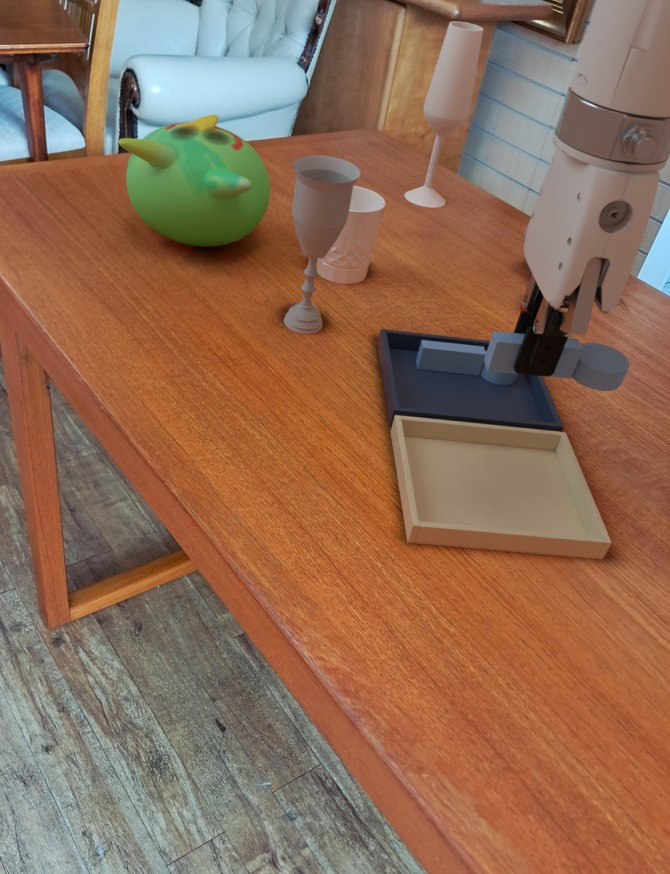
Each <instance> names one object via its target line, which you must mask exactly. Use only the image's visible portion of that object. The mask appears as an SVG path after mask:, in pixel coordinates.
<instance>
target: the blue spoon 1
mask: <svg viewBox="0 0 670 874" xmlns="http://www.w3.org/2000/svg"><path fill="white" fill-rule="evenodd" d="M486 353H487V351H486V352H485V349H484V347H482V346H473V345H464V344H455V343H446V342H436V341H427V340H421V344H420V347H419V351H418V355H417V358H416V365H417V369H420V370H430V371H439V372H449V373H458V374H467V375H477V376H479V375H480V376H481V377H482V378H484V379H485V380H487V381H489V382H491V383H494V384H498V385H510V384H513V383H514V382H515V381H516V380H517V377H518V375H519V374H513V373H502V372H491V371H487V368H486V365H485V362H484V359H485V356H486Z"/></svg>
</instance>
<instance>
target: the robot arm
mask: <svg viewBox="0 0 670 874" xmlns="http://www.w3.org/2000/svg"><path fill="white" fill-rule="evenodd" d="M551 141H552V144H554V147H555V148H556V150H555V152H554V154H553V157H552V159H551V162H550V164H549V168H547V169H548V170H547V171H546V174H545V177H544V180H543V183H542V184H541V188H540V190H539V193H538V196H537V198H536V201H535V205H534V208H533V210H532V213H531V216H530V220H529V223H528V224H529V226H528V230H527V233H526V237H525V242H524V245H523V254H524V259H525V261H526V263H527V265H528V268H529V270H530V273H529V281H528V283H527V286H526V290H525V293H524V296H523V299H522V302H523V309H525V310H528V311H521V310H520V313H519V315H518V319H517V322H516V324H515V327H514V330H513V333H519V334H525V336H524V339H523V341H522V344H521V347H520V350H519V353H518V356H517V358H516V361H515V364H514V370H515V372H516V373H517V374H525V375H536V376H543V377H547V378H549V377H548V376H552V375H553V374H554V372H555V369H556V367H557V364H558V362H559V359H560V357H561V354H562V352H563V349H564V347H565V344H566V342H567V339H568V338H572V336H573V335H578V336H585V335H586V333H587V331H588V328H589V324H590V319H591V315H592V311H593V307H594V303H595V305H596V307H597V308H598V310H599V311H600V312H601V313H603V314H608V315H609V314H611V313H613V312H614V311H615V309H616V308H617V306H618V303H619V302H620V299H621V297H622V295H623V293H624V290H625V287H626V285H627V283H628V280H629V278H630V274H631V272H632V270H633V267H634V263H635V262H636V258H637V256H638V253H639V250H640V248H641V246H642V245H641V244H642V242H643V239H644V235H645V233H646V230H647V227H648V224H649V221H650V217H651V214H652V210H653V207H654V203H655V199H656V196H657V191H658V187H659V182H660V177H661V173H660V172H659V171H661V170H663V169H664V168H665V167H666V165H667V163H668V160H669V158H670V0H596V1H595V5H594V8H593V11H592V14H591V18H590V20H589V23H588V27H587V30H586V33H585V36H584V39H583V42H582V46H581V48H580V52H579V55H578V58H577V62H576V64H575V68H574V72H573V74H572V78H571V80H570V84H569V86H568V89H567V92H566V95H565V99H564V101H563V105H562V108H561V111H560V113H559V117H558V121H557V123H556V126H555V129H554V132H553V136H552V139H551ZM561 309H567V311H561Z"/></svg>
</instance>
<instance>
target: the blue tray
mask: <svg viewBox="0 0 670 874" xmlns="http://www.w3.org/2000/svg"><path fill="white" fill-rule="evenodd" d="M421 340H427V341H436V342H446V343H455V344H464V345H473V346H482V347H484V349H485V352H486V351H487V349H488V346H489V343H490V340H485V339H477V338H467V337H460V336H459V337H458V336H449V335H441V334H431V333H423V332H414V331H412V332H411V331H405V330H396V329H386V328H380V330H379V334H378V339H377V343H376V346H377V347H376V348H377V353H378V357H379V358H378V360H379V365H380V372H381V378H382V385H383V392H384V397H385V405H386V412H387V417H388V424H389V425H388V426H389V427H390V428H392V424H393V421H394V417H395V415H399V416H409V417H419V418H429V419H439V420H449V421H459V422H469V423H479V424H489V425H499V426H508V427H518V428H528V429H538V430H548V431H558V432H563V430H564V424H563V423H562V420H561V417H560V415H559V412H558V410H557V408H556V405H555V403H554V401H553V398H552V396H551V394H550V391H549V389H548V386H547V384H546V382H545V379H544V376H536V375H524V374H519V375H518V377H517V380H516V381H515V382H514V383H513V384H510V385H498V384H494V383H491V382H489V381H487V380H485V379H484V378H482V377H481V376H480V375H479V376H477V375H467V374H458V373H449V372H439V371H430V370H420V369H417V365H416V358H417V355H418V351H419V347H420V344H421Z"/></svg>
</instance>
